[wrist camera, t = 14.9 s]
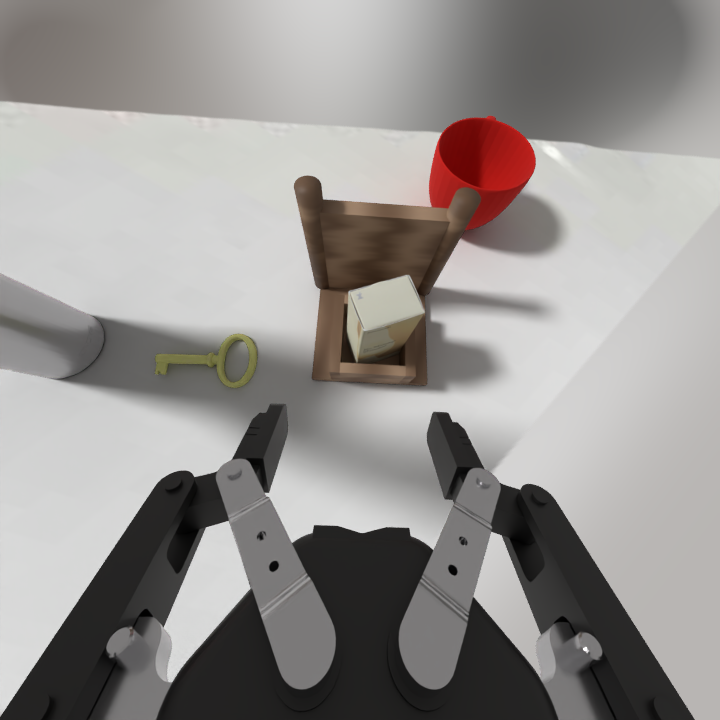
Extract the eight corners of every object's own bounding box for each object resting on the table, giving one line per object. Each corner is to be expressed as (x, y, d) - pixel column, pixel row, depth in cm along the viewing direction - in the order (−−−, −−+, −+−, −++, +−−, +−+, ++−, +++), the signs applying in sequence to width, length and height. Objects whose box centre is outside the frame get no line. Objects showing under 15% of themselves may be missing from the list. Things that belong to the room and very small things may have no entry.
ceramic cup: (502, 179, 46) (543, 112, 36) (488, 257, 41) (531, 202, 31) (431, 161, 46) (453, 89, 37) (409, 235, 42) (427, 175, 32)
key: (161, 359, 35) (149, 354, 33) (253, 332, 36) (247, 326, 34) (168, 410, 33) (157, 409, 31) (265, 380, 35) (260, 377, 33)
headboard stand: (306, 379, 34) (271, 334, 19) (316, 278, 39) (295, 174, 23) (431, 385, 35) (497, 346, 19) (428, 285, 39) (479, 188, 24)
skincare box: (356, 368, 34) (360, 333, 22) (345, 339, 35) (344, 291, 23) (401, 353, 35) (428, 312, 23) (389, 325, 36) (409, 272, 24)
